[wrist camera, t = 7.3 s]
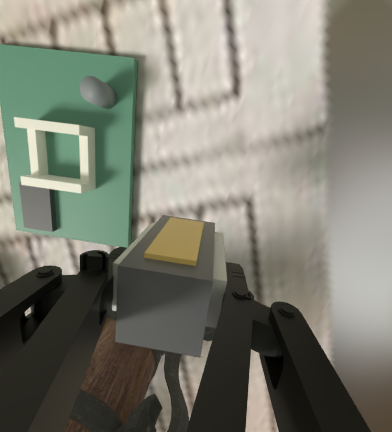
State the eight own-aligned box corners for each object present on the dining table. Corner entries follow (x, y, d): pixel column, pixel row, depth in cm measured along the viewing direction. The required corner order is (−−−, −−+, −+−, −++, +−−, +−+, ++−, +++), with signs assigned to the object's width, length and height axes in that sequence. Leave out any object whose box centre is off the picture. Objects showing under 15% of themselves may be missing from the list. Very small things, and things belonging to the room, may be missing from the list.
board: (130, 245, 30) (117, 258, 27) (22, 227, 31) (-5, 238, 28) (137, 61, 24) (121, 44, 20) (1, 47, 25) (-38, 28, 21)
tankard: (107, 369, 38) (-10, 593, 19) (57, 287, 34) (-154, 462, 15) (239, 340, 33) (265, 599, 14) (199, 242, 29) (160, 412, 10)
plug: (207, 269, 18) (200, 357, 10) (158, 261, 18) (115, 341, 10) (215, 219, 17) (213, 275, 9) (163, 212, 17) (117, 260, 9)
